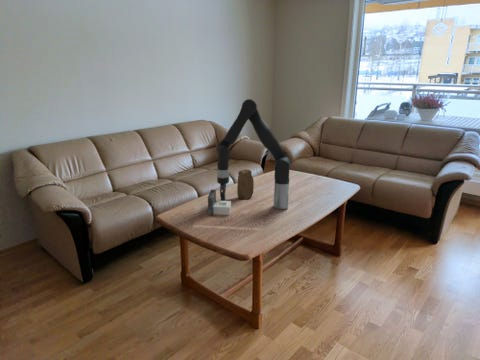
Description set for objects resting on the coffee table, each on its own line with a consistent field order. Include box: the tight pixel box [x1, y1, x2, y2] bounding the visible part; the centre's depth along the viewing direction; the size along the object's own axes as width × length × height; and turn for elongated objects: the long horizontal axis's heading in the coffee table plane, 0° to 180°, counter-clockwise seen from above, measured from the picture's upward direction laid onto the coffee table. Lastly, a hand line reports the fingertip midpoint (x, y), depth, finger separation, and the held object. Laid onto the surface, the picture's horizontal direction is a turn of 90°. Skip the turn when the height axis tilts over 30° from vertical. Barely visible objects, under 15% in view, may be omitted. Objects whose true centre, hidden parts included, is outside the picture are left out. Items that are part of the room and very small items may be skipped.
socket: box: [213, 200, 232, 216], centre depth 214 cm, size 10×10×5 cm
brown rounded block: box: [236, 168, 255, 200], centre depth 238 cm, size 11×8×20 cm
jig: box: [207, 189, 217, 216], centre depth 213 cm, size 20×13×13 cm, turn 86°
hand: (223, 200), depth 225 cm, fingers closed on dowel, 3 cm apart
